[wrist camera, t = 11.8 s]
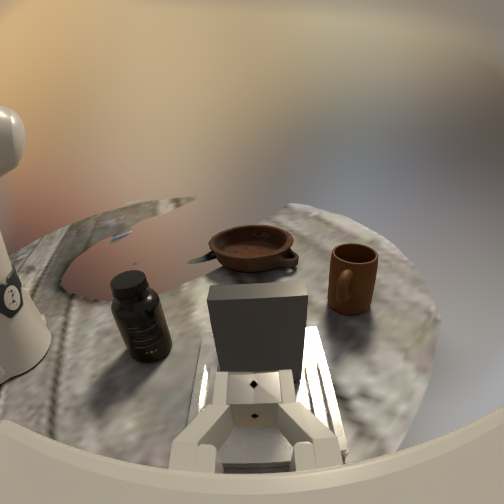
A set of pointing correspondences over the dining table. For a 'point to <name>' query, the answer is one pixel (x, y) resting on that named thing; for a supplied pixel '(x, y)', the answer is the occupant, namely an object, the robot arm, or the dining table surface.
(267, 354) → the gray rectangular block
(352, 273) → the mug
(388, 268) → the dining table surface
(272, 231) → the dish
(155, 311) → the supplement bottle
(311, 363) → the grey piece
